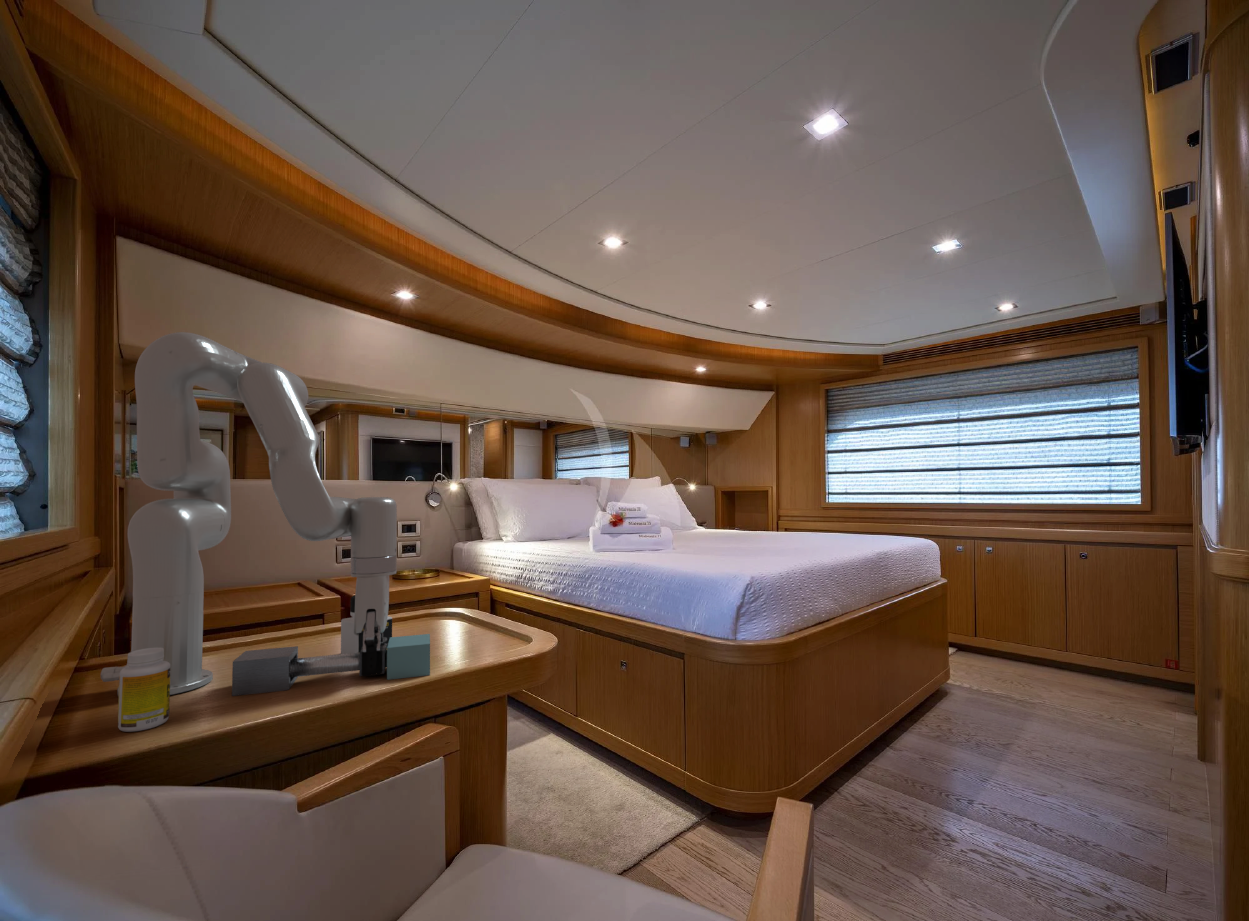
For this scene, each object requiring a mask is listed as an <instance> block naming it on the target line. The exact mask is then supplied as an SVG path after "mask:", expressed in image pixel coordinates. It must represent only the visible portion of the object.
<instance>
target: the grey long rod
mask: <svg viewBox="0 0 1249 921" xmlns="http://www.w3.org/2000/svg"><path fill="white" fill-rule="evenodd" d="M380 650H382V673H381V674H380V675H384V674H385V673H386V671H387V650H386V644H385V645H380ZM362 652H363V647H362V648H361V651H360V652H358V653H348V654H341V653H340V654H329V655H327V654H326V655H319V656H318V655H317V656H308V657H298V658H295V659H292V660H291V661H290V677H298V678H299V677H307V676H318V675H326V674H327V675H328V674H336V673H346V672H347V673H348V672H355V671H359V677H363V676H362Z"/></svg>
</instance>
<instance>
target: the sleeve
mask: <svg viewBox="0 0 1249 921" xmlns="http://www.w3.org/2000/svg"><path fill="white" fill-rule="evenodd" d="M295 658H299V646H285V647H276V648H274V647H273V648H263V649H254V650H245V651H244V652H242V653H241V654H240V655H239V656H238V657H236V658H235V659H234V660H233V661H232V670H231V671H232V675H231V676H232V677H231V678H232V679H231V682H232V683H231V684H232V685H231V697H235V696H247V695H255V694H256V695H257V694H263V693H272V692H280V691H281V692H282V691H289V690H290V689H291V687H292V686H293V685H294V683H295V682H296V681H297V679H298V678H299V677H290V661H291V660H292V659H295Z"/></svg>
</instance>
